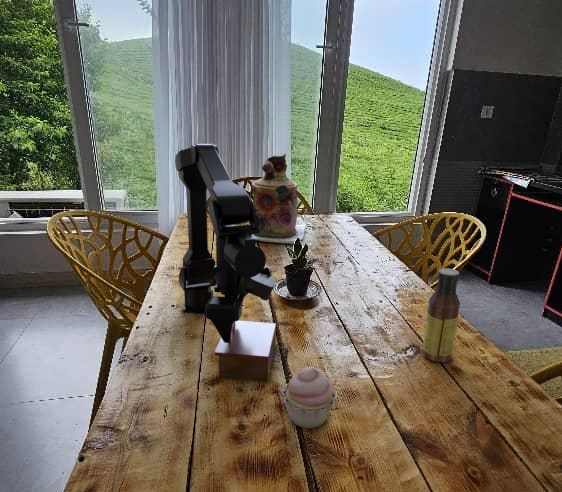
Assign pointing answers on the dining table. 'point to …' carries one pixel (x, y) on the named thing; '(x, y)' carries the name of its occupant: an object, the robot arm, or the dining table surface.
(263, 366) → the hinged lid chest
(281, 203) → the cookie jar
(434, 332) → the sauce bottle
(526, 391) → the dining table surface
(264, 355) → the cover
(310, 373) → the cupcake
